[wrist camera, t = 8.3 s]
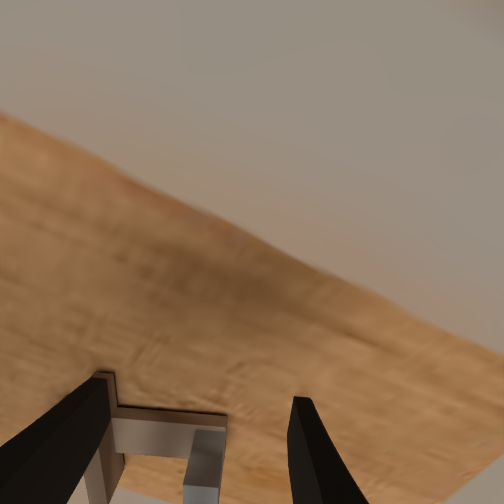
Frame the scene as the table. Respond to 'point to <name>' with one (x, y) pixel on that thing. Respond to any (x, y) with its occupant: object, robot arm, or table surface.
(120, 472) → the grey hook bracket
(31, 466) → the robot arm
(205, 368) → the table surface
